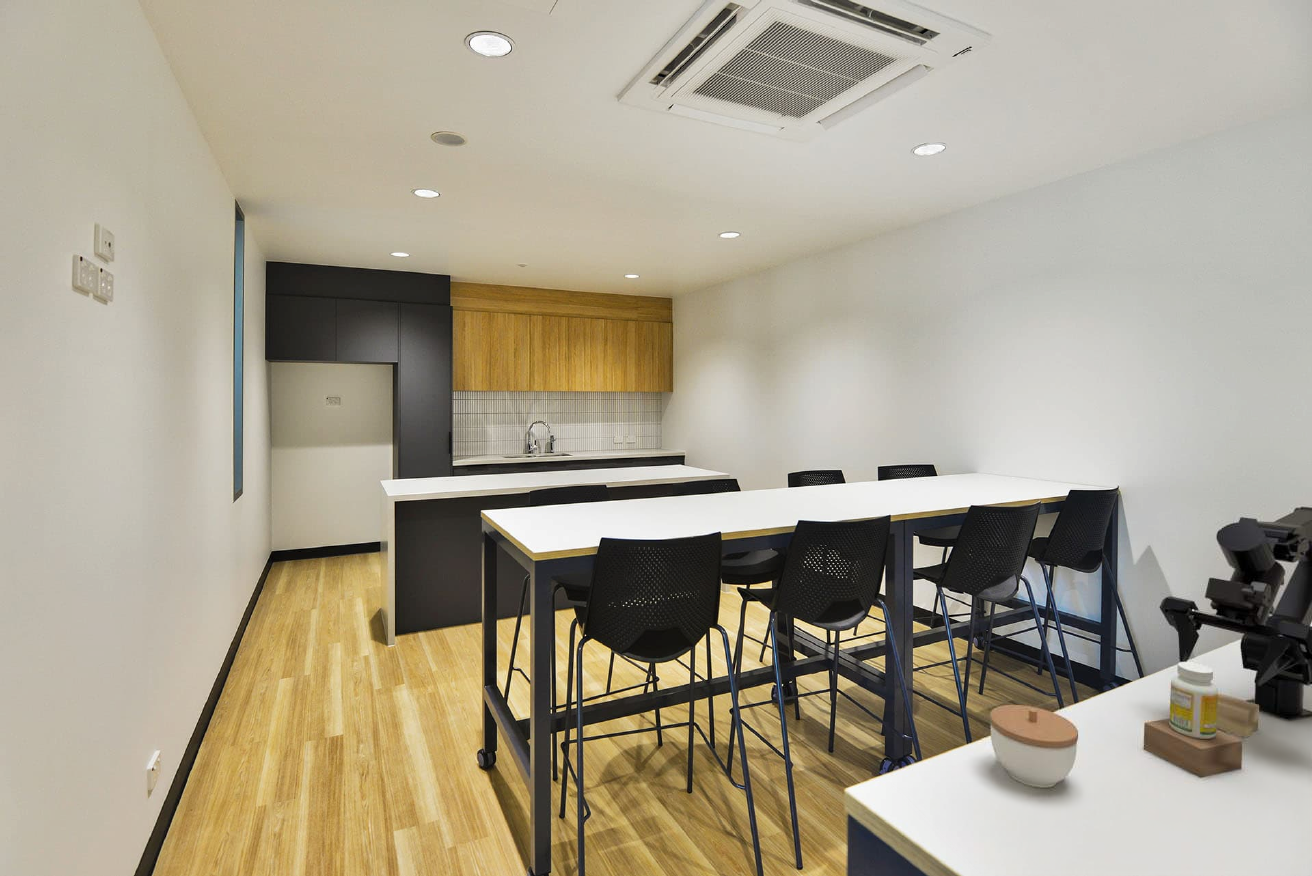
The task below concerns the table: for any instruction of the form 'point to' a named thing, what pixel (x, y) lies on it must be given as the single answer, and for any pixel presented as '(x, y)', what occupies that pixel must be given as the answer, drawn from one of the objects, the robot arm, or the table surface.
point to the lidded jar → (1033, 744)
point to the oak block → (1237, 716)
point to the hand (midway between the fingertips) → (1217, 672)
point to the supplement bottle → (1193, 701)
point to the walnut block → (1193, 749)
